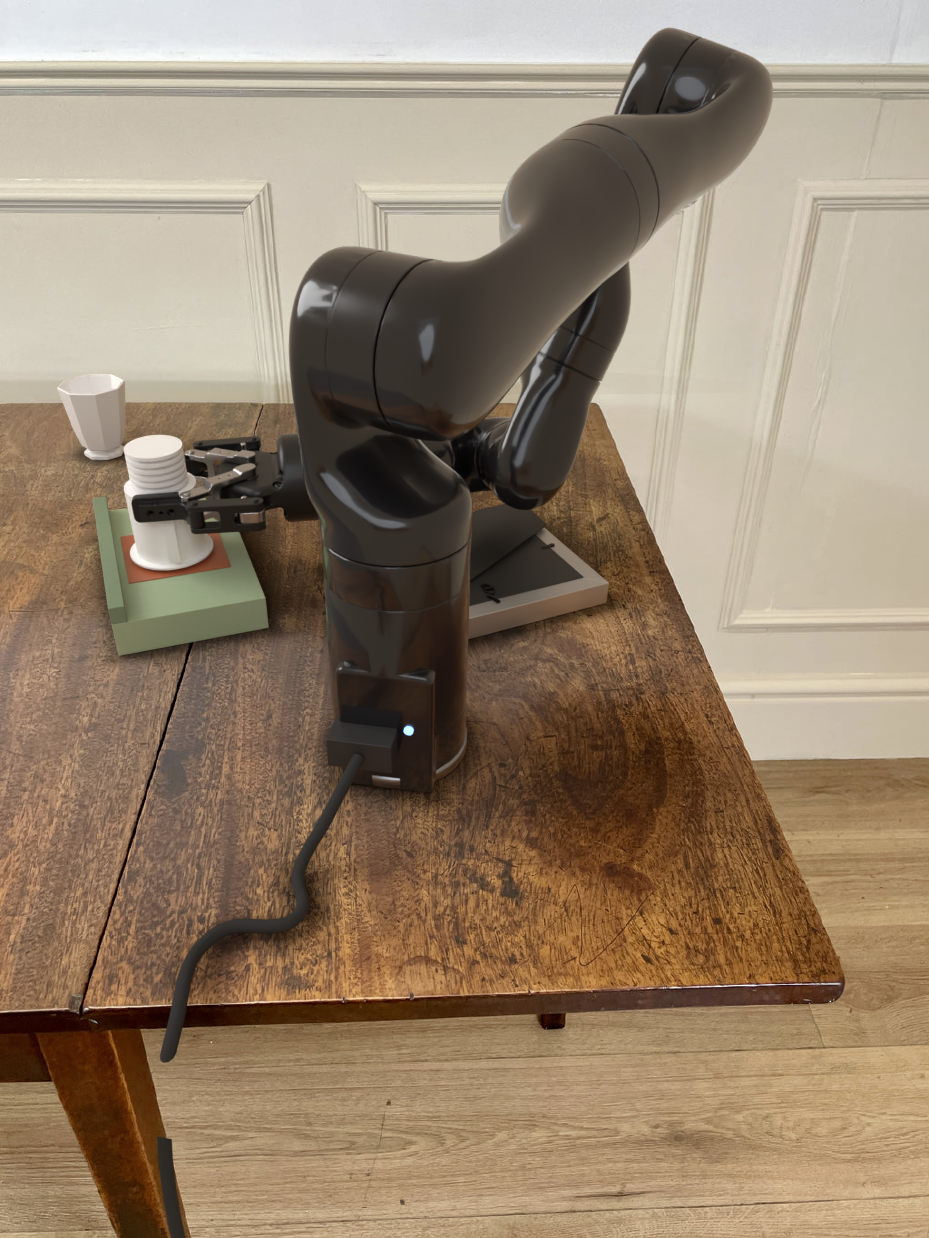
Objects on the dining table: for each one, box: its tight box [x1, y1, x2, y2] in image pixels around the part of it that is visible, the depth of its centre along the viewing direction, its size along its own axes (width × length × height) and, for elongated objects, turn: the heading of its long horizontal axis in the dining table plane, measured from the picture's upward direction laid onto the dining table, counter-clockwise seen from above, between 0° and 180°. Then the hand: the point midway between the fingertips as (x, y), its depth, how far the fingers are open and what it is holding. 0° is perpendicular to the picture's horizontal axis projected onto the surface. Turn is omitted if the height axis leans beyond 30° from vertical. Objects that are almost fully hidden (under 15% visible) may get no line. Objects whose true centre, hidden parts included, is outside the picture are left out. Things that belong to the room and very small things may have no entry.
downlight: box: [123, 434, 213, 570], centre depth 79 cm, size 8×7×10 cm
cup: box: [56, 373, 127, 461], centre depth 106 cm, size 7×10×8 cm
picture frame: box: [321, 503, 610, 640], centre depth 84 cm, size 16×3×21 cm
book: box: [92, 496, 270, 657], centre depth 83 cm, size 12×20×4 cm, turn 21°
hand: (137, 489), depth 79 cm, fingers closed on downlight, 7 cm apart
